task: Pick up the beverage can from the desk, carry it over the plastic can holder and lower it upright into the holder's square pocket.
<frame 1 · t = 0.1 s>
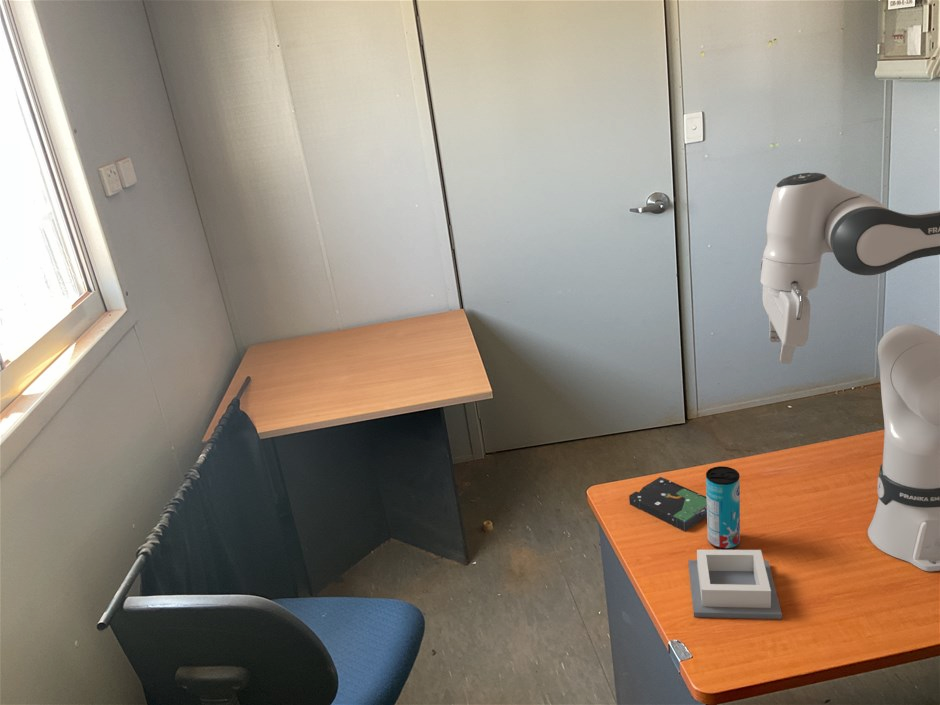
hand: (779, 351, 132), 39 cm above the table, tool pointing down, fingers open, 8 cm apart
disk drive: (672, 509, 161), on the table
beverage can: (723, 542, 148), on the table
can holder: (732, 590, 135), on the table
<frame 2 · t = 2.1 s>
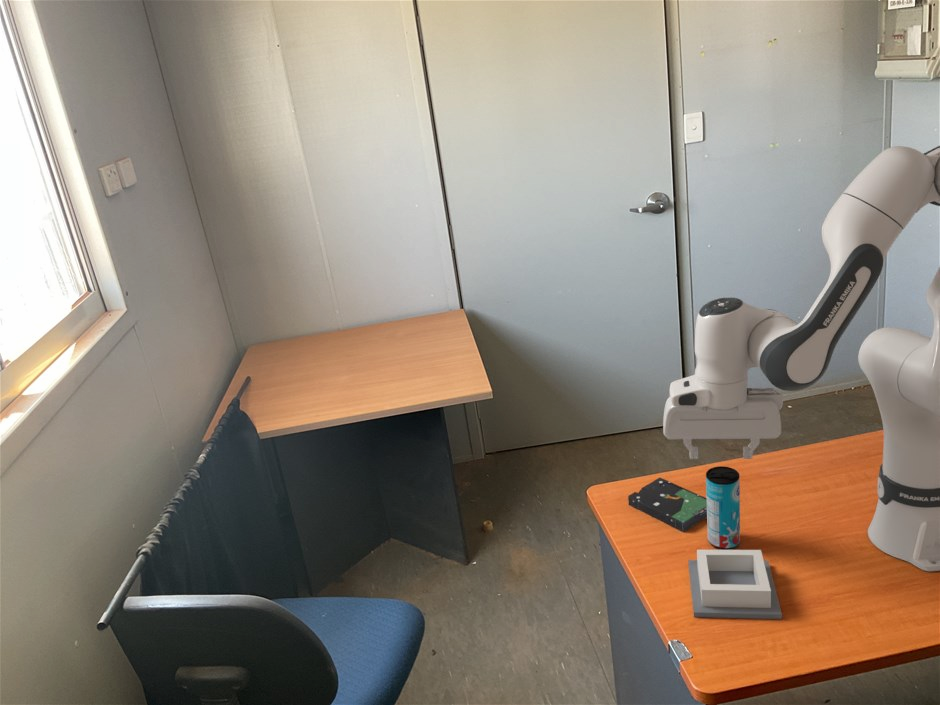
hand: (720, 457, 141), 19 cm above the table, tool pointing down, fingers open, 8 cm apart
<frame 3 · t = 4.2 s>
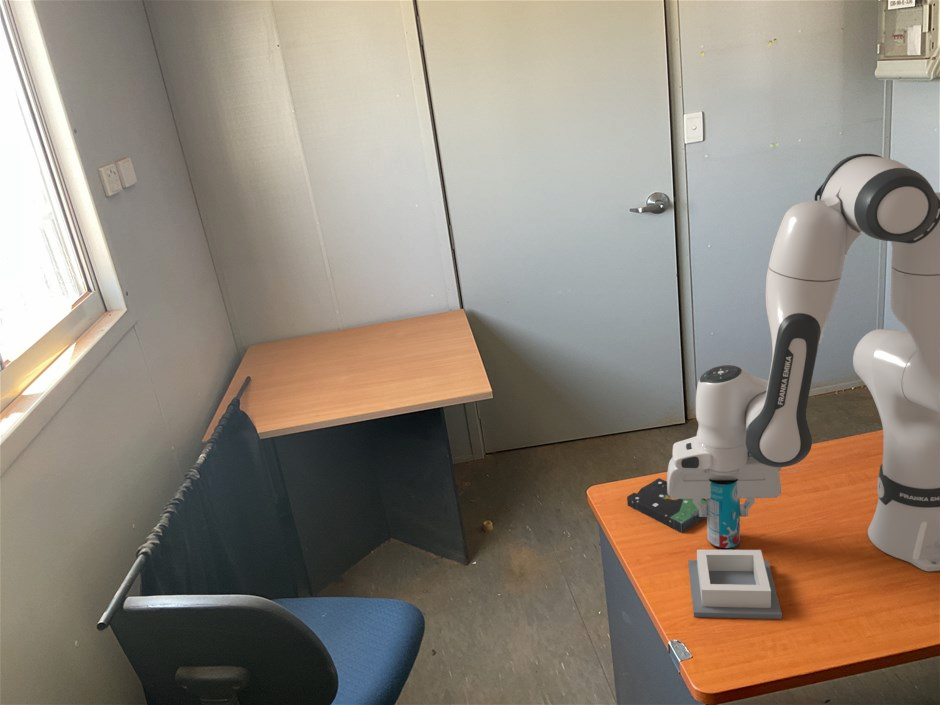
hand: (723, 515, 145), 6 cm above the table, tool pointing down, fingers closed on beverage can, 6 cm apart
beverage can: (723, 542, 148), on the table, touching gripper
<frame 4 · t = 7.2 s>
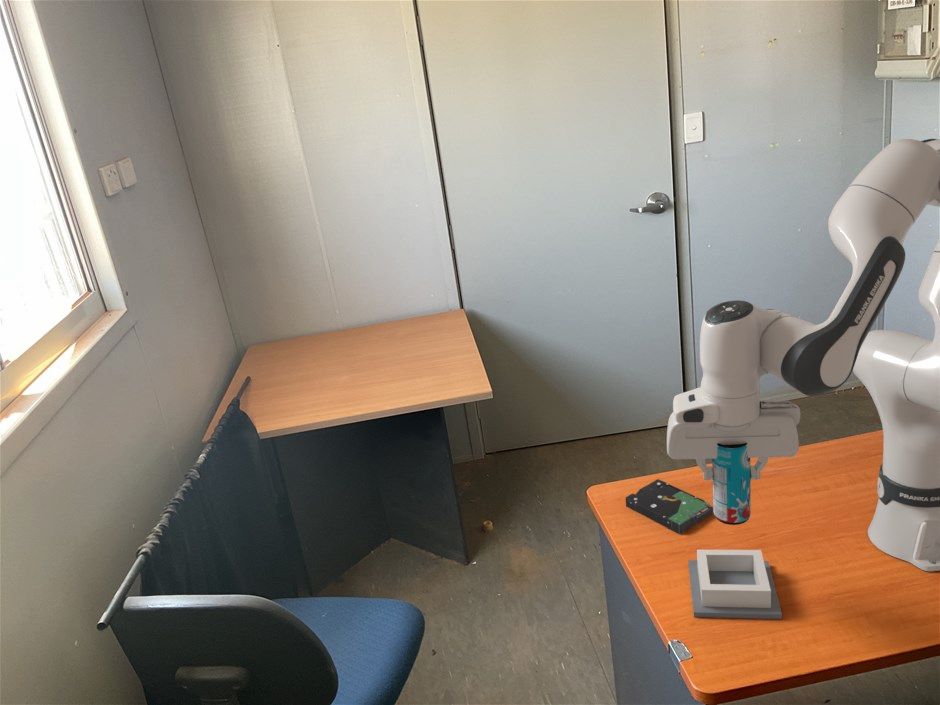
hand: (731, 478, 127), 23 cm above the table, tool pointing down, fingers closed on beverage can, 6 cm apart
beverage can: (732, 517, 129), point 15 cm above the table, touching gripper
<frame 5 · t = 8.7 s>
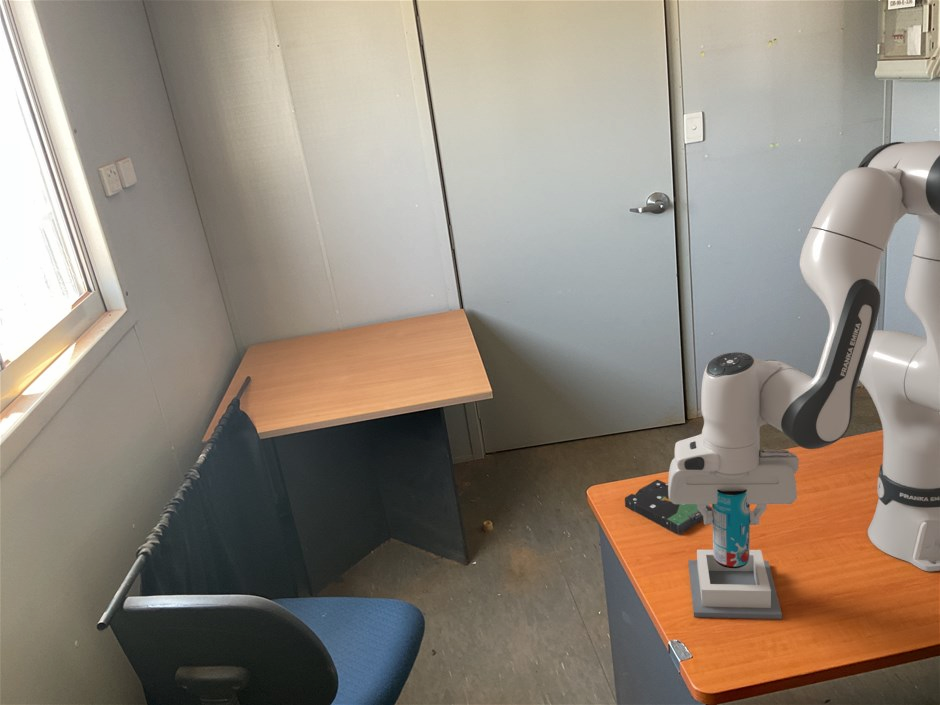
hand: (730, 522, 130), 14 cm above the table, tool pointing down, fingers closed on beverage can, 6 cm apart
beverage can: (731, 560, 132), point 7 cm above the table, touching gripper
when the fingers open (9 cm above the table, at t = 10.3 s): beverage can stays where it is, resting on can holder.
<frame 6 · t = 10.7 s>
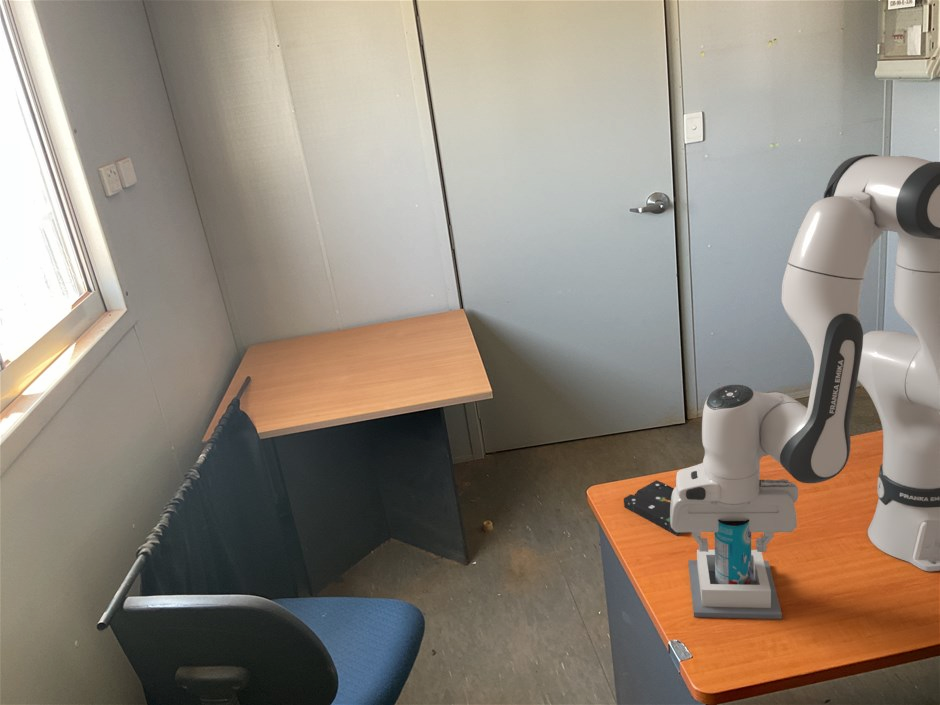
hand: (732, 549, 132), 9 cm above the table, tool pointing down, fingers open, 8 cm apart
beverage can: (733, 586, 134), point 1 cm above the table, touching can holder
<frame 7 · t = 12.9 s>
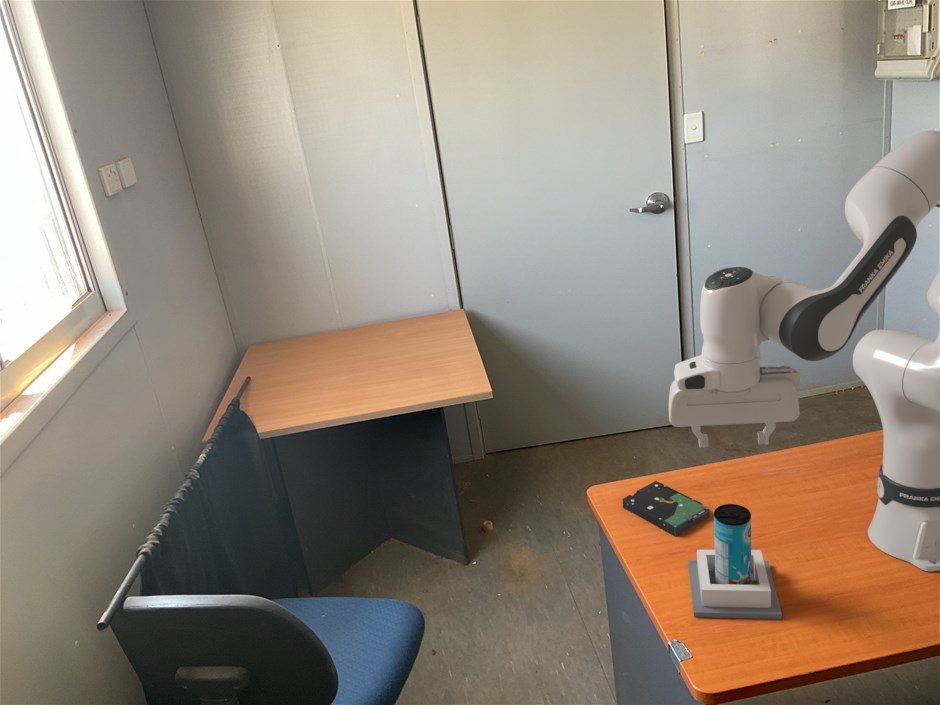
hand: (733, 444, 128), 27 cm above the table, tool pointing down, fingers open, 8 cm apart
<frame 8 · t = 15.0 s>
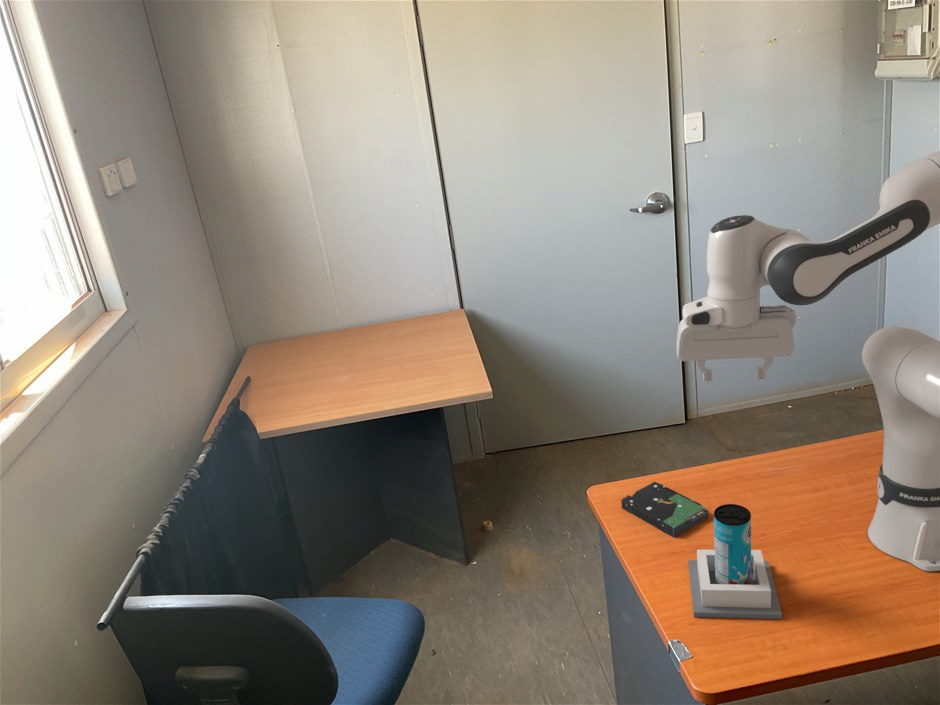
hand: (734, 378, 142), 31 cm above the table, tool pointing down, fingers open, 8 cm apart
at the end: beverage can 0.1 cm off-centre on the can holder, point 0.8 cm above the can holder's base; beverage can tilted 0°; the gripper is holding nothing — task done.
